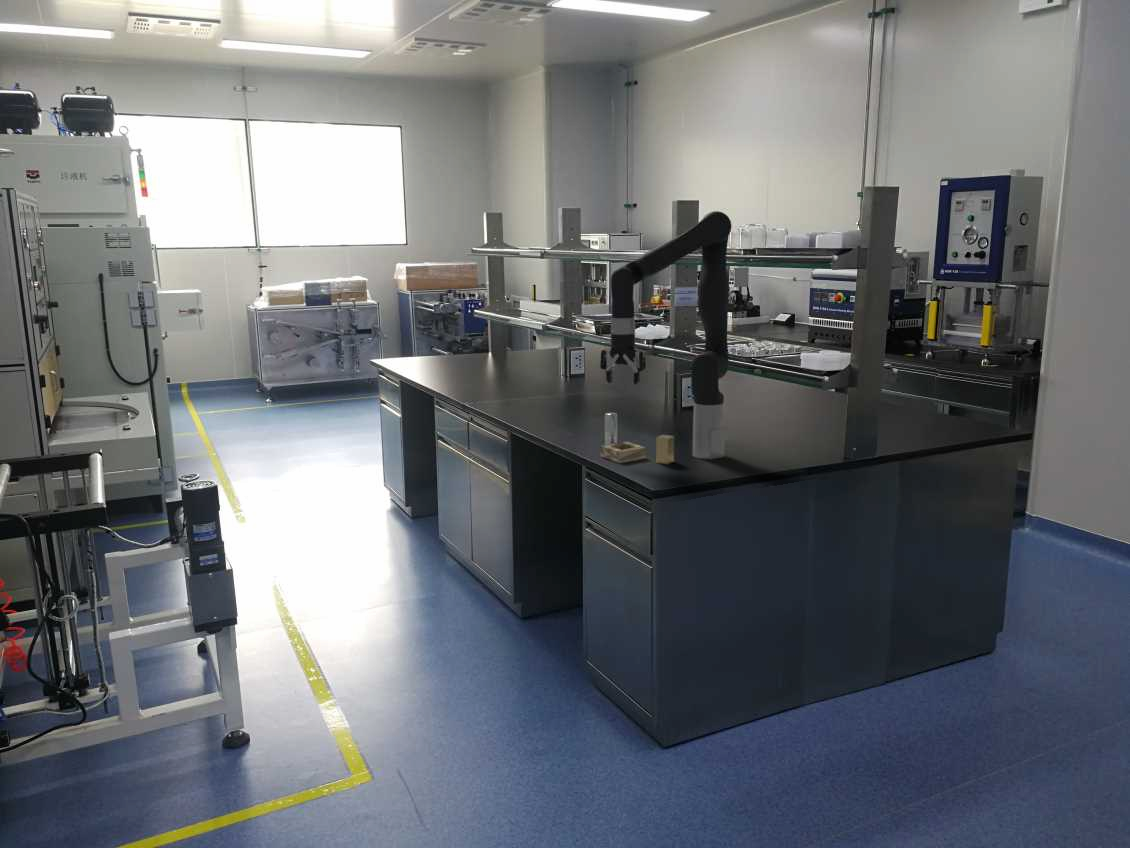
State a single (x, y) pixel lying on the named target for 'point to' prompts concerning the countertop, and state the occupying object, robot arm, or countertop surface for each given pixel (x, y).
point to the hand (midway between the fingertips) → (622, 383)
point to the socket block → (623, 452)
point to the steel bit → (610, 428)
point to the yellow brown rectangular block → (665, 449)
